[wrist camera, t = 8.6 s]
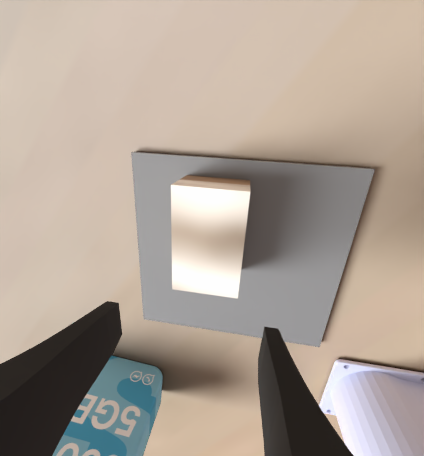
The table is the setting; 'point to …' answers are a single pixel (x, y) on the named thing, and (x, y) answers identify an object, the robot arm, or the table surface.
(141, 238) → the desk mat
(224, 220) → the metal box
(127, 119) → the table surface
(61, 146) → the table surface
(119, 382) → the data package
